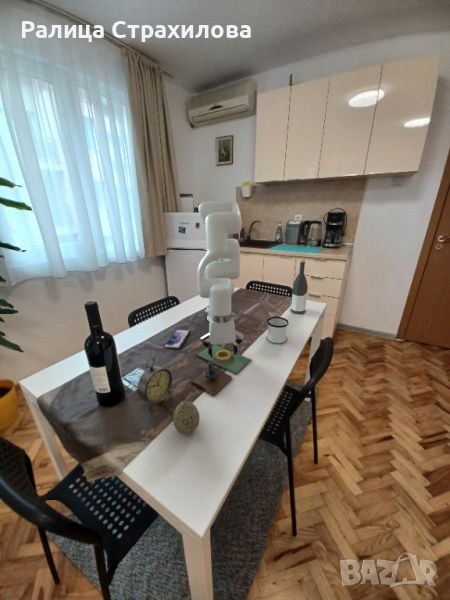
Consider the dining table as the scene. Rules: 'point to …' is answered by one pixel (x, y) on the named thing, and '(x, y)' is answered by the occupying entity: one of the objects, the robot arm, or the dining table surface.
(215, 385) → the stand
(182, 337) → the smartphone
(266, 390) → the dining table surface
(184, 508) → the dining table surface
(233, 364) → the mat
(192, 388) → the dining table surface
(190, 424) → the decorative egg
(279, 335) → the mug
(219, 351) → the ring
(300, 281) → the wine bottle
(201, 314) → the dining table surface
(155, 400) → the alarm clock
